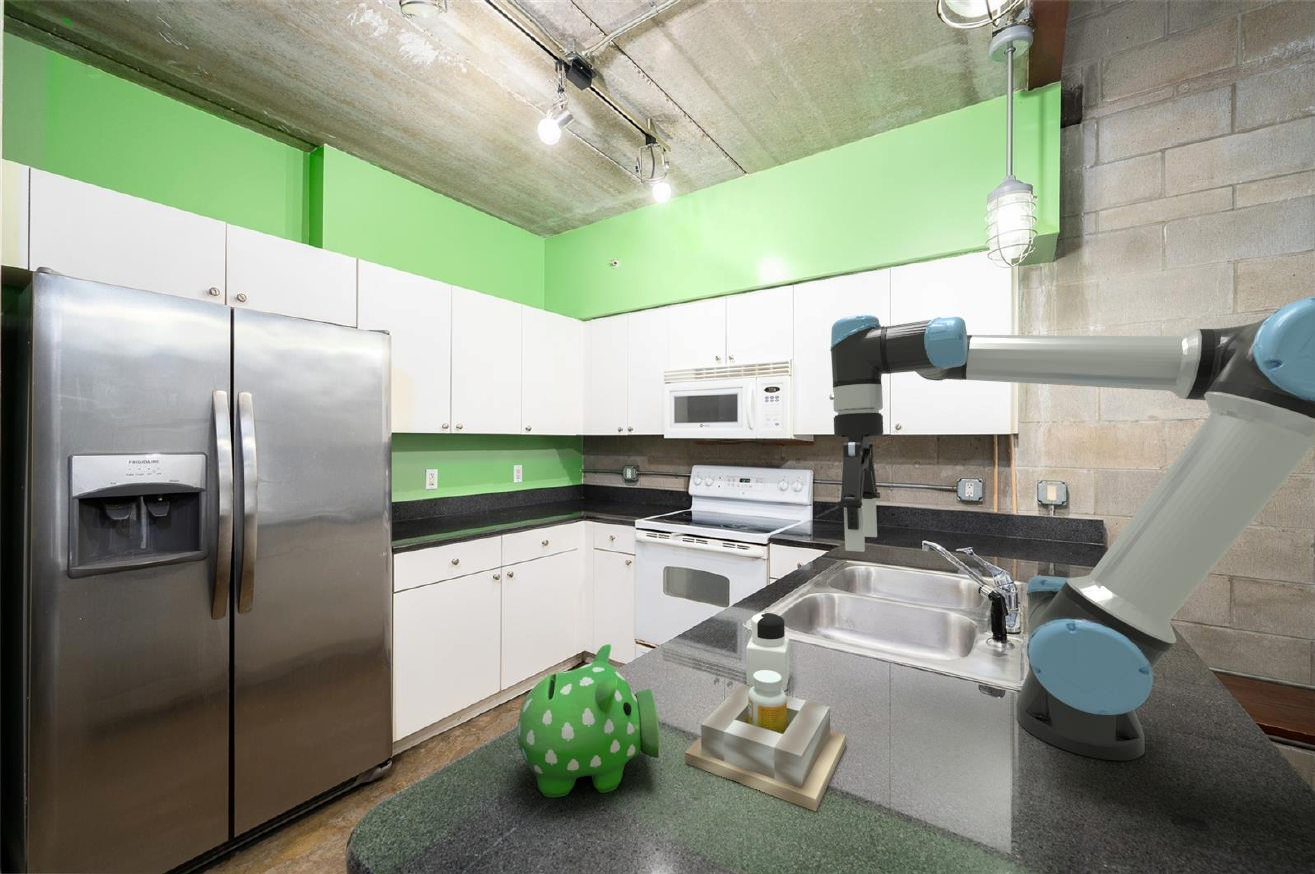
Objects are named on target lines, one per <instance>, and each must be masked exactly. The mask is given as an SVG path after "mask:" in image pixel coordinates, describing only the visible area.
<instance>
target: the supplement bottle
mask: <svg viewBox="0 0 1315 874" xmlns="http://www.w3.org/2000/svg"><path fill="white" fill-rule="evenodd" d="M753 685H754V686H751V687H752V688H751V689H750V691H749V694H748V724H751V725H754V726H757V727H761V728H764V729H767V730H771V731H774V732H777V733H781V734H784V732H785V731H786V729H787V698H786V696H787V695H786V691H783V690H782V689H781V687H782V677H781V675H780V674H779V673H777V672H774V671H770V670H760V671H757V672H755V673H754V674H753Z"/></svg>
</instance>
